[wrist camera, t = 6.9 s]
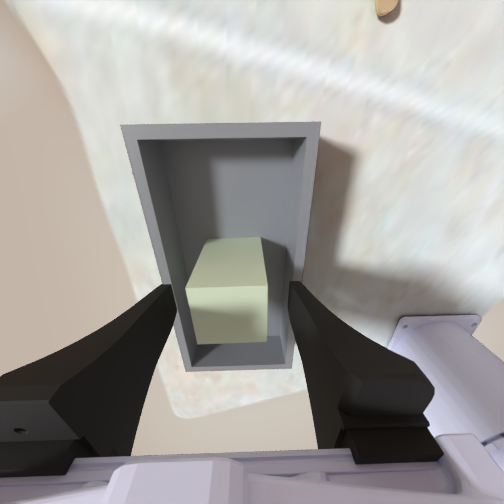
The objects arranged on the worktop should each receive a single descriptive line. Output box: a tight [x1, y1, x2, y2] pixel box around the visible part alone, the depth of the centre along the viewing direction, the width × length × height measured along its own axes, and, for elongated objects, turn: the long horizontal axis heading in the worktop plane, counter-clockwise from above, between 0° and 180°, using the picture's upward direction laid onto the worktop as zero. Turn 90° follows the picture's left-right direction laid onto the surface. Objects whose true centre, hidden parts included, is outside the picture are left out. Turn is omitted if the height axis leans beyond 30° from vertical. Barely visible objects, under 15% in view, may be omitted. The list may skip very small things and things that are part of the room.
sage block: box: [185, 237, 268, 344], centre depth 13 cm, size 4×4×6 cm
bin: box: [120, 122, 321, 372], centre depth 15 cm, size 18×9×4 cm, turn 1°
